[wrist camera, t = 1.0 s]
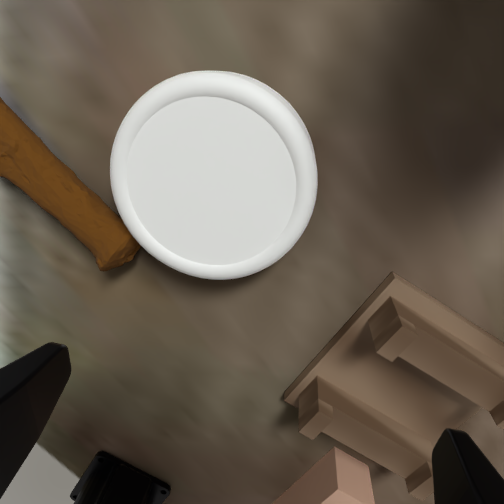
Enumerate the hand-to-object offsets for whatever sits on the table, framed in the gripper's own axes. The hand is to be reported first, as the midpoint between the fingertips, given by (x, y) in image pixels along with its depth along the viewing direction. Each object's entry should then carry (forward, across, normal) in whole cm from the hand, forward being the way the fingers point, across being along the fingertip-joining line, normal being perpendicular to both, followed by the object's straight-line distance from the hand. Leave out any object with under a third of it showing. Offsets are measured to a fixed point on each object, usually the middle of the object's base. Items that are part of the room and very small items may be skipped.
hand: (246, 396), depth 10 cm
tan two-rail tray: (+13, -9, +11) cm, 19 cm away
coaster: (+14, +4, 0) cm, 15 cm away
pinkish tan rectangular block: (+12, -5, +23) cm, 27 cm away
